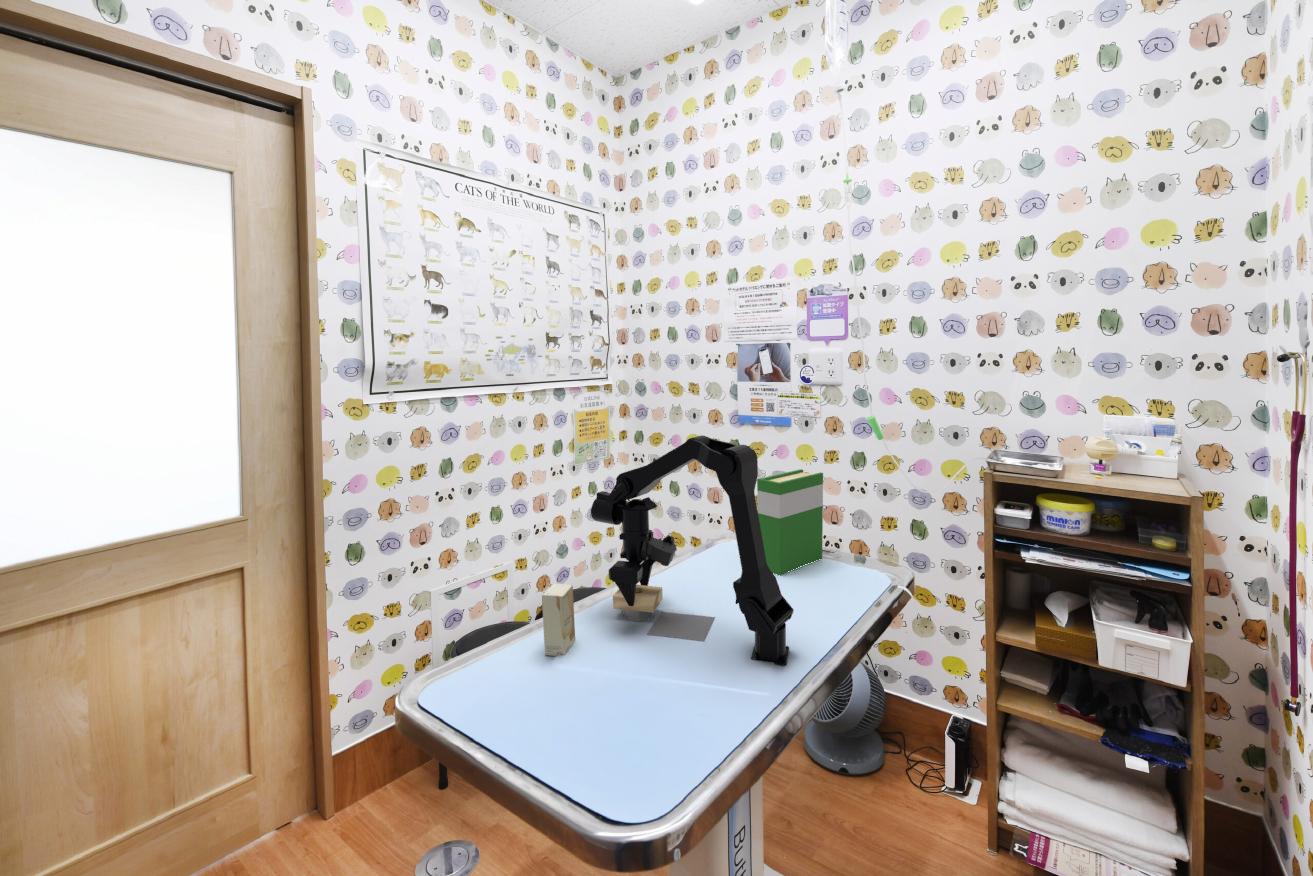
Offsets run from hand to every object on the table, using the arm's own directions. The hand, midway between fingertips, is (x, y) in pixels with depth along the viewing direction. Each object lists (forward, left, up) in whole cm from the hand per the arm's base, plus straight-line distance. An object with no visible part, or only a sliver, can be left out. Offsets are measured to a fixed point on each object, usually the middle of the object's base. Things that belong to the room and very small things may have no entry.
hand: (638, 597), depth 128 cm
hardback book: (+40, -29, -5) cm, 50 cm away
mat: (-3, -10, -4) cm, 12 cm away
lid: (0, 0, -2) cm, 2 cm away
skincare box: (-17, +11, -5) cm, 21 cm away
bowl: (0, 0, -4) cm, 4 cm away
